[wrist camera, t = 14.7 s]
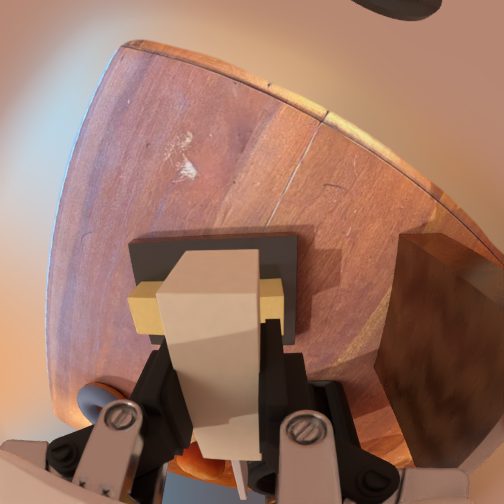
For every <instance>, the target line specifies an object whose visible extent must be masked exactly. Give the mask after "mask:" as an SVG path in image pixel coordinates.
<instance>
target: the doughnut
mask: <svg viewBox="0 0 504 504" xmlns="http://www.w3.org/2000/svg"><path fill="white" fill-rule="evenodd" d="M120 399H126V398H125V397H124V396H123V395H122V394H120V393H119V392H118V391H116V390H115V389H113V388H112V387H110V386H107V385H105V384H101V383H89V384H86V385H85V386H84V387H83V388H82V389H80V390H79V392H78V396H77V401H78V406H79V408H80V410H81V412H82V413H83V415H84V416H85V417H86V418H87V419H88V420H89V421H90V422H91V423H92V424H95V423H96V421H97V419H98V417H99V414H100V412H101V411H102V409H103V408H104V407H105V406H106V405H107V404H108V403H110V402H112V401H115V400H120ZM126 400H127V399H126Z"/></svg>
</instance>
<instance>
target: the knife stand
mask: <svg viewBox="0 0 504 504" xmlns="http://www.w3.org/2000/svg"><path fill="white" fill-rule="evenodd" d="M374 369H375V371H376V373H377V376H378V378H379V380H380V382H381V384H382V387H383V389H384V391H385V393H386V395H387V398H388V400H389V402H390V405H391V407H392V409H393V412H394V414H395V416H396V419H397V421H398V423H399V426H400V428H401V431H402V433H403V436H404V438H405V441H406V443H407V446H408V448H409V451H410V453H411V456H412V459H413V461H414V464H415V467H418V468H458V469H462V470H463V471H465V472H466V474H467V475H470V474H472V473H473V472H474V471H475V470H476V469H477V468H478V467H479V466H481V465H482V463H484V462H485V460H487V458H489V457H490V456H491V455H492V454H493V453H494V451H495V450H496V449H497V448H498V447H499V446H500V445H501V444H502V443H503V442H504V269H502V268H501V267H499V266H497V265H496V264H494V263H493V262H491V261H489V260H488V259H486V258H484V257H483V256H481V255H479V254H478V253H476V252H474V251H473V250H471V249H469V248H467V247H466V246H464V245H462V244H460V243H459V242H457V241H455V240H453V239H451V238H449V237H448V236H446V235H444V234H442V233H437V234H399V242H398V251H397V259H396V266H395V273H394V279H393V285H392V291H391V296H390V302H389V307H388V312H387V317H386V321H385V326H384V330H383V334H382V339H381V343H380V347H379V350H378V354H377V358H376V362H375V365H374Z"/></svg>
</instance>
